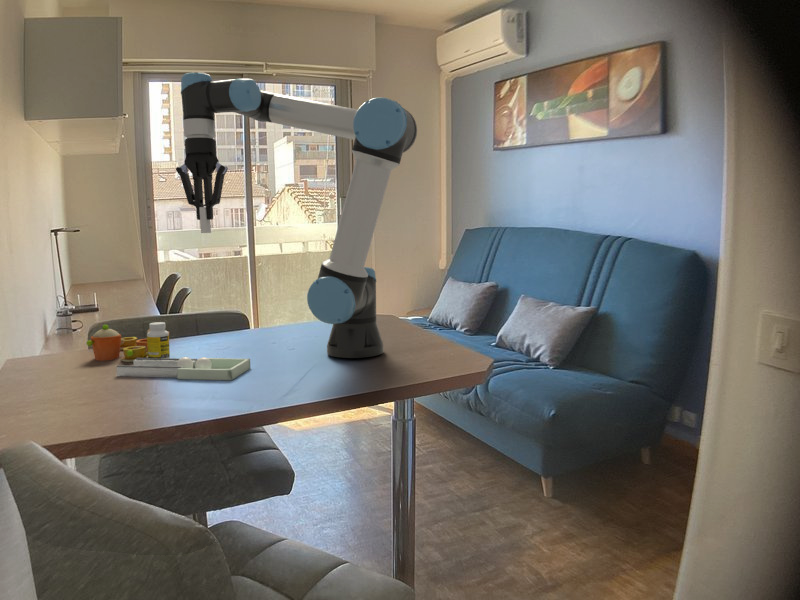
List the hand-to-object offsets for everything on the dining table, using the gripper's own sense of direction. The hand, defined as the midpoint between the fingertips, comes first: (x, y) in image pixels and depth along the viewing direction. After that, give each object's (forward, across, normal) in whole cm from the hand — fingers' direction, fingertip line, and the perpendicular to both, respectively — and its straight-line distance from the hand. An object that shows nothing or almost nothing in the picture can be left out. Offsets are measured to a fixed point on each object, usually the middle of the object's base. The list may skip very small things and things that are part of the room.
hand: (206, 232), depth 161 cm
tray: (+34, -6, +13) cm, 37 cm away
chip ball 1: (+33, +3, +13) cm, 36 cm away
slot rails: (+33, +9, +13) cm, 37 cm away
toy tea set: (+34, +27, -9) cm, 44 cm away
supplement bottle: (+33, +16, -1) cm, 37 cm away
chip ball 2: (+31, -5, +14) cm, 34 cm away
